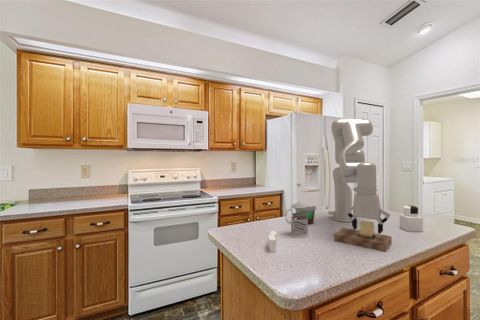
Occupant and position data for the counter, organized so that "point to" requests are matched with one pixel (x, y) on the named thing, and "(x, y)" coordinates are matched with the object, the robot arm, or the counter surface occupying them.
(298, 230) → the french press
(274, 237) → the napkin holder
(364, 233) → the brass peg
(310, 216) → the food container
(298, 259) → the counter surface
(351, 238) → the walnut square hole board
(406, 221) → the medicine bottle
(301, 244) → the counter surface
